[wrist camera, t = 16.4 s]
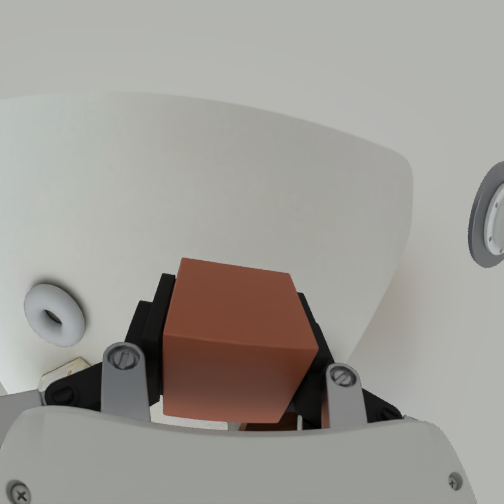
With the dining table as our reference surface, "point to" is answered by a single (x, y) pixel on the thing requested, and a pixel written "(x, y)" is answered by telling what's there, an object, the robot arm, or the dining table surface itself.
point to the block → (233, 344)
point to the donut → (62, 307)
